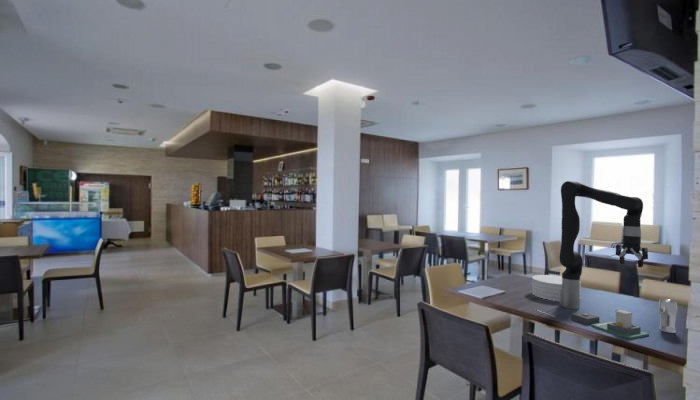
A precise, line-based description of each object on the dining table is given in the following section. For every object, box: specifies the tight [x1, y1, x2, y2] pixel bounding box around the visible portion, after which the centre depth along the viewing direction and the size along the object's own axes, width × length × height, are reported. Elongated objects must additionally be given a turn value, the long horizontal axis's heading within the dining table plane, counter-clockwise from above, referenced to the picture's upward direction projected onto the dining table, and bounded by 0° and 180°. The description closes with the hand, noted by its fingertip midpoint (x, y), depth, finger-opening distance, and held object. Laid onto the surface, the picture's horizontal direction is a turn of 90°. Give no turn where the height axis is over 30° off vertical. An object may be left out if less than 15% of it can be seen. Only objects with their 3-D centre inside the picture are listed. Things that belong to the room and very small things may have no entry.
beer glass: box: [658, 298, 678, 334], centre depth 178 cm, size 7×7×15 cm
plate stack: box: [531, 274, 582, 302], centre depth 239 cm, size 28×28×12 cm
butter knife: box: [534, 308, 556, 318], centre depth 198 cm, size 1×27×3 cm
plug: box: [615, 309, 633, 329], centre depth 175 cm, size 4×5×9 cm
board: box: [590, 321, 650, 340], centre depth 177 cm, size 18×14×4 cm
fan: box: [570, 311, 600, 326], centre depth 191 cm, size 9×9×4 cm
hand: (631, 265), depth 189 cm, fingers open, 8 cm apart
